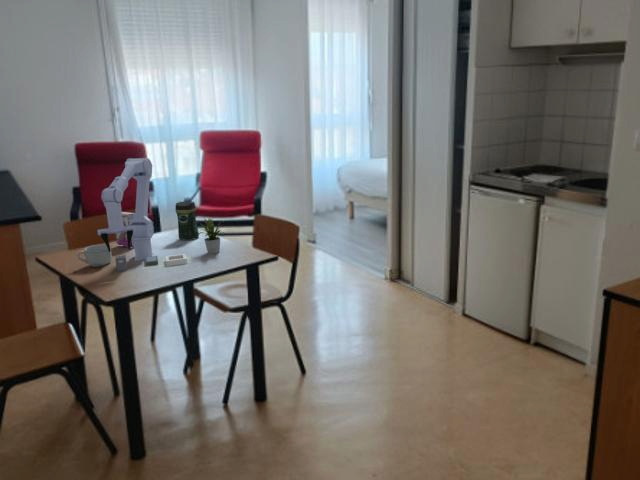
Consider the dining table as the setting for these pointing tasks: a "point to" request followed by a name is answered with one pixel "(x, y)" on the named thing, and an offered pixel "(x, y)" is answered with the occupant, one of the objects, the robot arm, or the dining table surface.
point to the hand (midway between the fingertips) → (119, 250)
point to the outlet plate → (169, 261)
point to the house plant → (211, 237)
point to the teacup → (96, 255)
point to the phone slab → (151, 260)
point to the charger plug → (121, 263)
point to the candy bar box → (122, 236)
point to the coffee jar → (187, 220)
